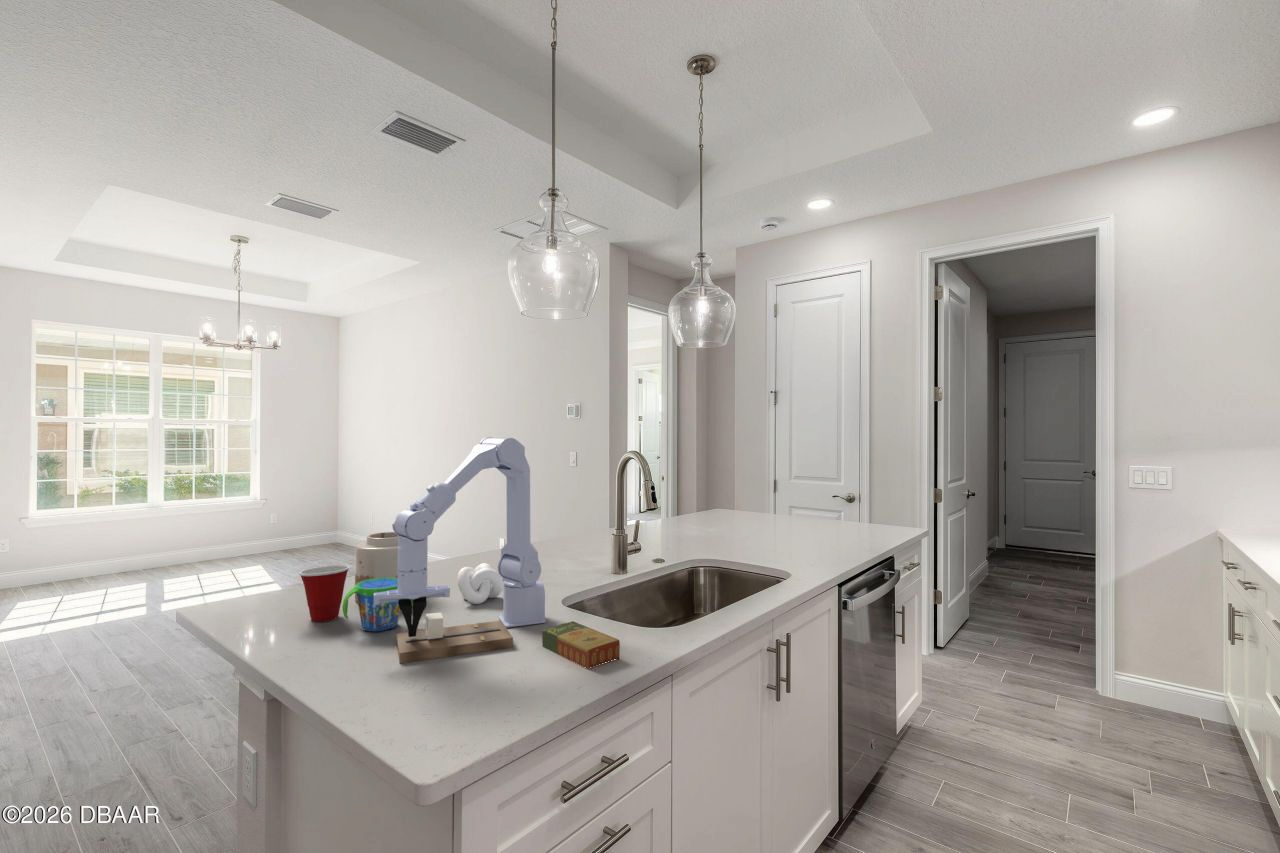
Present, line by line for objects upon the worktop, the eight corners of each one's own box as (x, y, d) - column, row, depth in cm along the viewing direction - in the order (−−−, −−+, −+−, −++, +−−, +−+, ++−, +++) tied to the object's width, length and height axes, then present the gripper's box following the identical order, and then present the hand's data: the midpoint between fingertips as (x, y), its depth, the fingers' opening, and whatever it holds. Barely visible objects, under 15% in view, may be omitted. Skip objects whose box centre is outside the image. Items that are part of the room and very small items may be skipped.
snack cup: (410, 615, 146) (410, 573, 146) (421, 627, 137) (421, 583, 137) (339, 626, 138) (339, 582, 138) (345, 640, 129) (346, 593, 129)
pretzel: (508, 593, 166) (508, 561, 166) (498, 607, 154) (498, 571, 154) (466, 593, 166) (467, 561, 166) (453, 606, 154) (454, 571, 154)
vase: (403, 606, 153) (403, 540, 153) (343, 605, 154) (344, 540, 154) (425, 590, 169) (425, 530, 169) (371, 589, 169) (371, 529, 169)
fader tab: (440, 631, 128) (441, 612, 128) (443, 637, 124) (443, 617, 124) (425, 633, 126) (426, 614, 126) (427, 639, 123) (427, 619, 123)
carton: (587, 671, 115) (587, 649, 115) (541, 648, 127) (541, 627, 127) (620, 660, 120) (620, 638, 120) (573, 638, 132) (573, 619, 132)
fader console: (501, 629, 137) (501, 619, 137) (512, 647, 126) (512, 636, 126) (396, 642, 128) (396, 631, 128) (399, 663, 117) (399, 651, 117)
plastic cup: (334, 608, 151) (334, 560, 151) (358, 616, 145) (359, 566, 145) (289, 619, 142) (289, 569, 142) (313, 628, 136) (314, 575, 136)
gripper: (374, 576, 117) (373, 646, 117) (451, 570, 123) (451, 636, 123) (373, 568, 123) (373, 635, 123) (447, 562, 129) (447, 626, 129)
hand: (412, 635), depth 124 cm, fingers closed
